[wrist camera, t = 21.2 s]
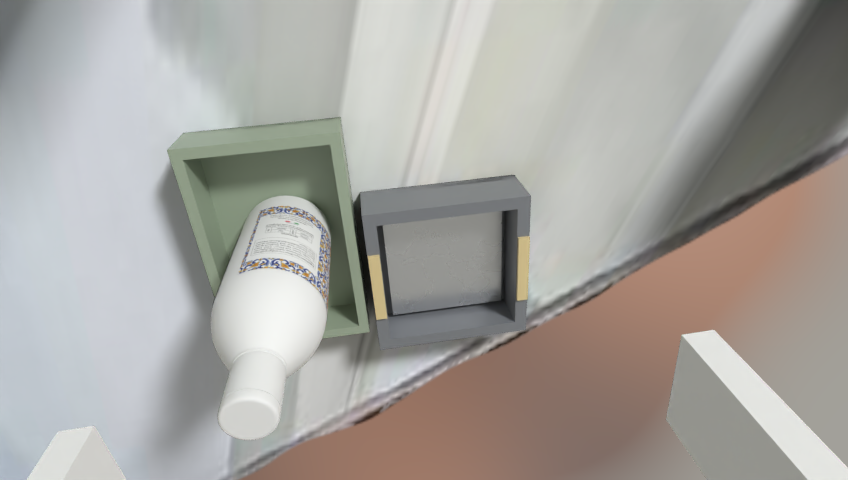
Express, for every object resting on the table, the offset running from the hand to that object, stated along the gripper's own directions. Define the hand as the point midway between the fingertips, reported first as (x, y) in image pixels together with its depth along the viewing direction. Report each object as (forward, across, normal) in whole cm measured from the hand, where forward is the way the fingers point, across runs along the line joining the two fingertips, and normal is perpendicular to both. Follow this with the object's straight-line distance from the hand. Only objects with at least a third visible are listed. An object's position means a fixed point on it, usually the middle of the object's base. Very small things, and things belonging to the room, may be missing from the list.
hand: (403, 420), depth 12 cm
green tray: (+30, +9, +9) cm, 33 cm away
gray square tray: (+31, -4, +14) cm, 34 cm away
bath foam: (+30, +8, +9) cm, 33 cm away
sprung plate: (+30, -4, +14) cm, 33 cm away
